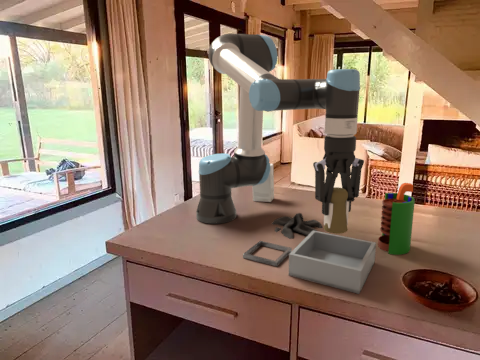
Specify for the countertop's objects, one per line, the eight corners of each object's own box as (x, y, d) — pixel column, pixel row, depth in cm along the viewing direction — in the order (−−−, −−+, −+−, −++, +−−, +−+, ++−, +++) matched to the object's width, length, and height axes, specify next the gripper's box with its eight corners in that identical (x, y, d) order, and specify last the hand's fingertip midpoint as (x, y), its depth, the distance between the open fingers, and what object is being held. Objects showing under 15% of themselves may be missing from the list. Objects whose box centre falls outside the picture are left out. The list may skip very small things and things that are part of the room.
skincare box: (274, 198, 159) (274, 163, 155) (270, 203, 153) (271, 166, 149) (255, 196, 161) (255, 162, 157) (251, 201, 155) (251, 165, 151)
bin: (288, 275, 95) (289, 254, 93) (312, 248, 110) (312, 230, 108) (359, 294, 86) (360, 271, 84) (374, 262, 101) (376, 242, 99)
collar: (243, 257, 105) (242, 254, 104) (260, 244, 113) (260, 240, 113) (276, 266, 99) (276, 262, 99) (291, 251, 108) (291, 247, 108)
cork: (337, 223, 99) (339, 184, 96) (352, 230, 93) (355, 189, 90) (318, 227, 96) (320, 187, 93) (333, 235, 91) (336, 193, 88)
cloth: (272, 218, 137) (272, 202, 136) (323, 220, 133) (323, 204, 132) (264, 242, 116) (264, 224, 114) (324, 246, 112) (325, 227, 111)
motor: (371, 240, 115) (377, 179, 110) (399, 239, 115) (405, 178, 110) (387, 255, 105) (393, 188, 100) (416, 253, 106) (424, 187, 100)
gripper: (317, 139, 82) (314, 235, 88) (379, 134, 88) (372, 225, 94) (301, 135, 89) (299, 224, 95) (360, 131, 95) (354, 216, 101)
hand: (335, 224), depth 94 cm, fingers closed on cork, 4 cm apart
